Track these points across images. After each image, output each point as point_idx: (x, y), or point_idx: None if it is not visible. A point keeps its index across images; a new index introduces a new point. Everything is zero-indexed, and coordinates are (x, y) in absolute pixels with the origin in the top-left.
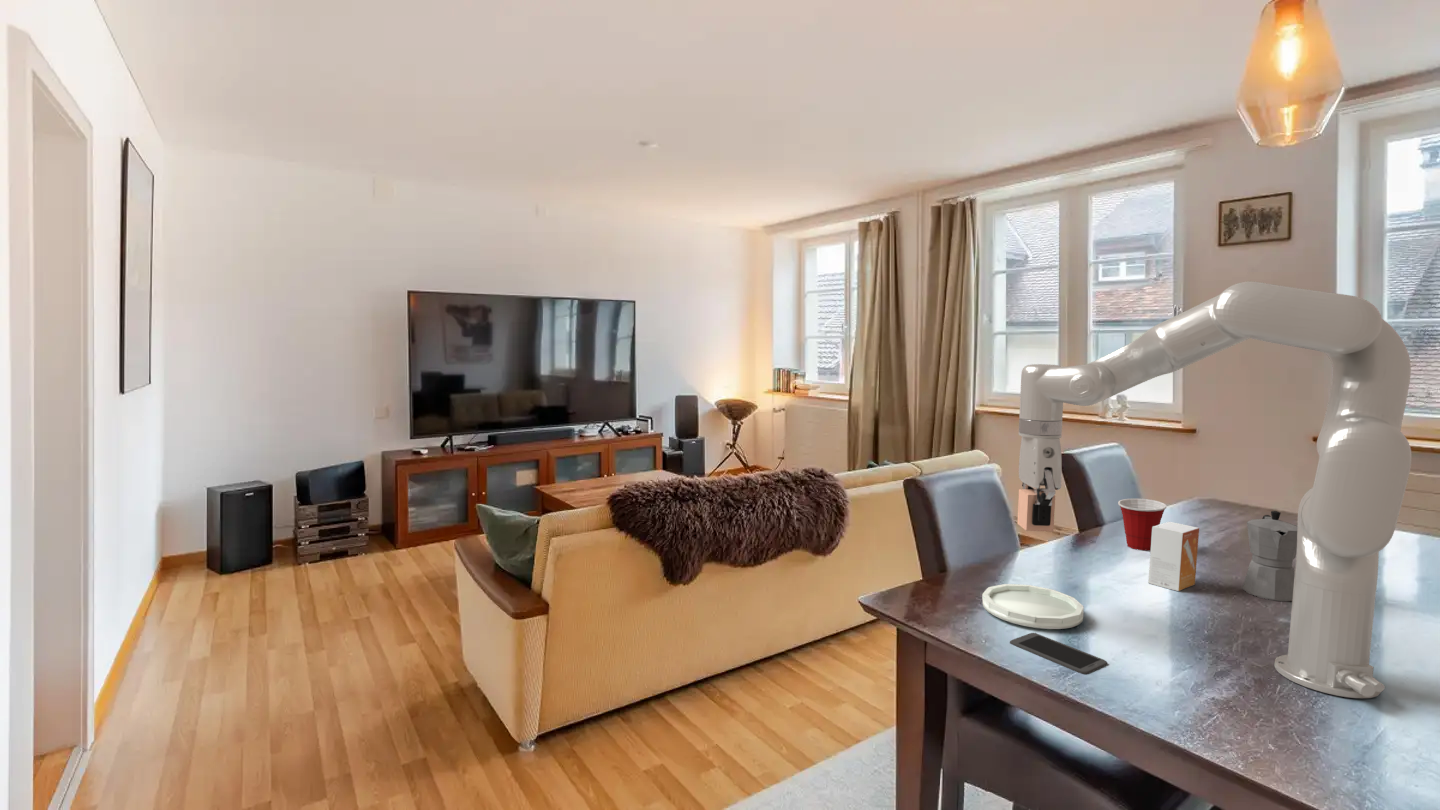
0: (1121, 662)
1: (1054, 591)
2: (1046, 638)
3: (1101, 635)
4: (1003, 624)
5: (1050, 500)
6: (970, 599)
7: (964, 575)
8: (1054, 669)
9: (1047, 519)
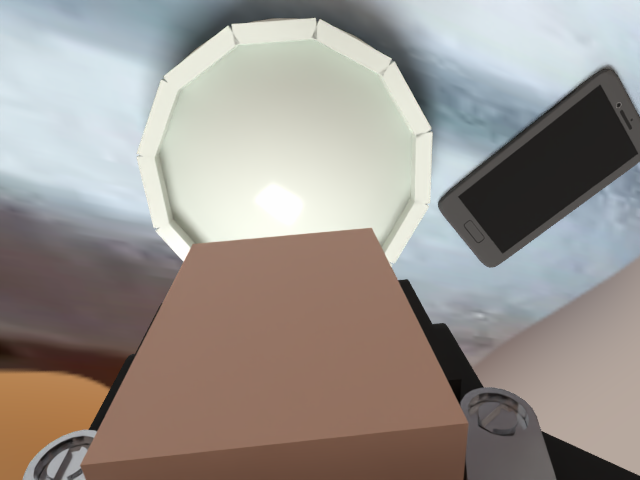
0: (603, 24)
1: (182, 78)
2: (475, 182)
3: (433, 8)
4: None
5: (617, 473)
6: None
7: (8, 295)
8: (619, 205)
9: (447, 328)
